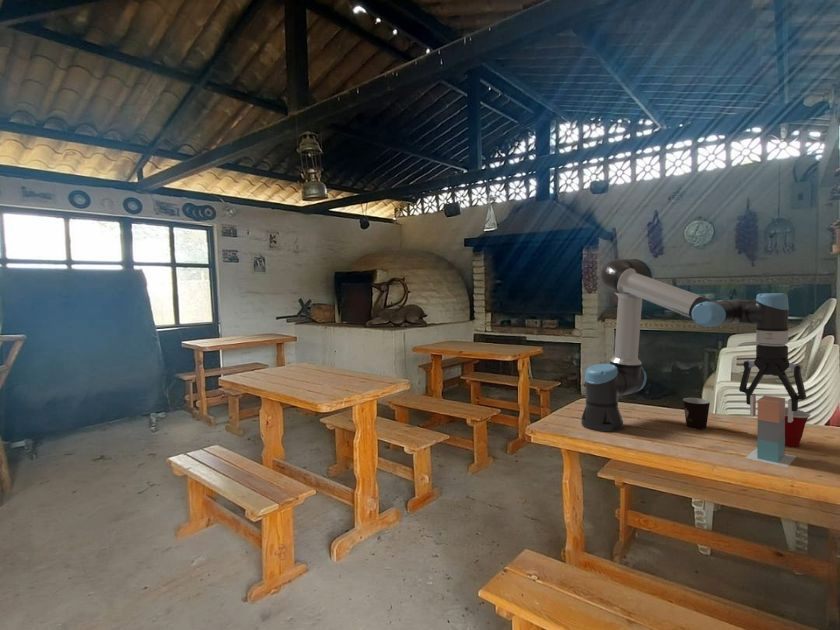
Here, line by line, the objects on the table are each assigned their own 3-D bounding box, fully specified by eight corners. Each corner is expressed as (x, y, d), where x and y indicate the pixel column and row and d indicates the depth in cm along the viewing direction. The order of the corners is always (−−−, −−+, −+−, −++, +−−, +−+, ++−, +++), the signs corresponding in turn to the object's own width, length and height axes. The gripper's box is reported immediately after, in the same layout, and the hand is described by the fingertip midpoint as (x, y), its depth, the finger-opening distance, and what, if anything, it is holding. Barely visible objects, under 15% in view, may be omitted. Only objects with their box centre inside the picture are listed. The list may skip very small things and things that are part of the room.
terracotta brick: (757, 419, 133) (757, 400, 133) (764, 414, 138) (764, 395, 138) (778, 423, 129) (778, 403, 129) (785, 417, 134) (785, 398, 134)
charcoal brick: (757, 439, 134) (757, 419, 133) (764, 432, 139) (764, 414, 138) (778, 443, 130) (778, 423, 129) (784, 436, 135) (785, 417, 134)
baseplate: (745, 459, 135) (745, 457, 135) (756, 449, 142) (756, 447, 142) (786, 469, 127) (786, 467, 127) (796, 458, 135) (796, 456, 134)
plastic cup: (811, 454, 137) (812, 416, 136) (767, 447, 144) (767, 411, 143) (809, 444, 145) (809, 408, 145) (767, 438, 152) (767, 404, 152)
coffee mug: (710, 431, 161) (710, 404, 160) (682, 428, 165) (682, 402, 165) (709, 423, 171) (709, 397, 170) (683, 420, 175) (683, 395, 175)
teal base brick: (757, 458, 134) (757, 439, 134) (764, 451, 139) (764, 432, 139) (778, 463, 130) (778, 443, 130) (784, 455, 135) (784, 436, 135)
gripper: (726, 343, 138) (726, 414, 140) (816, 348, 122) (815, 428, 123) (734, 340, 143) (733, 409, 144) (821, 345, 127) (820, 422, 128)
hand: (771, 418), depth 134 cm, fingers open, 8 cm apart
